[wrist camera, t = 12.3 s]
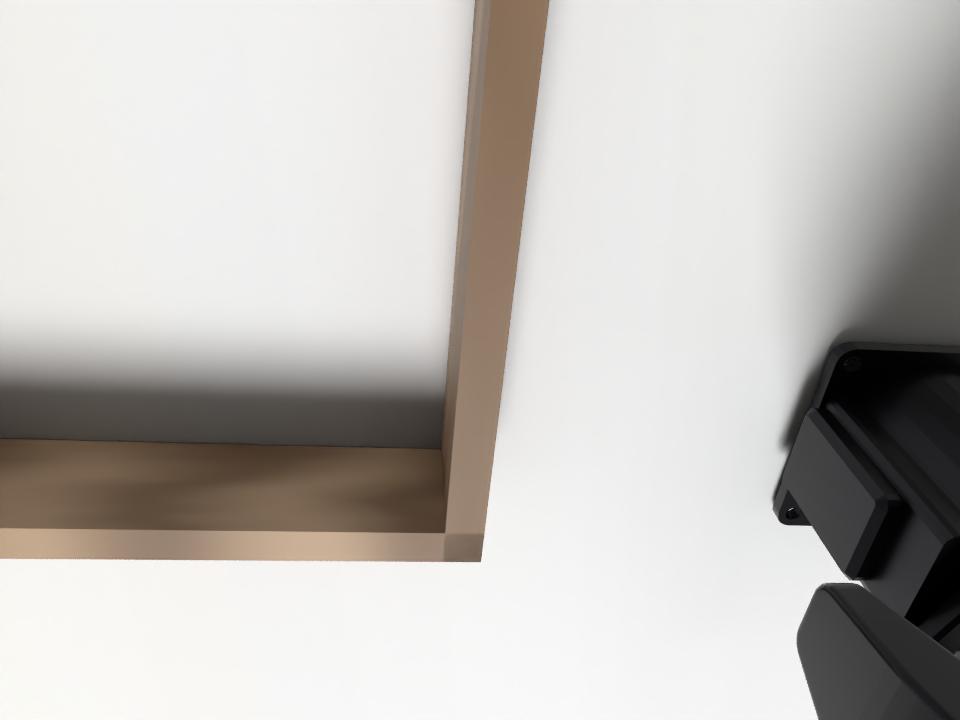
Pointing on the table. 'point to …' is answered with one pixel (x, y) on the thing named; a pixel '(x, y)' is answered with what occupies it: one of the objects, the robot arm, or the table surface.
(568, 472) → the table surface
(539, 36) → the wooden u-shaped frame
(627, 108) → the table surface
